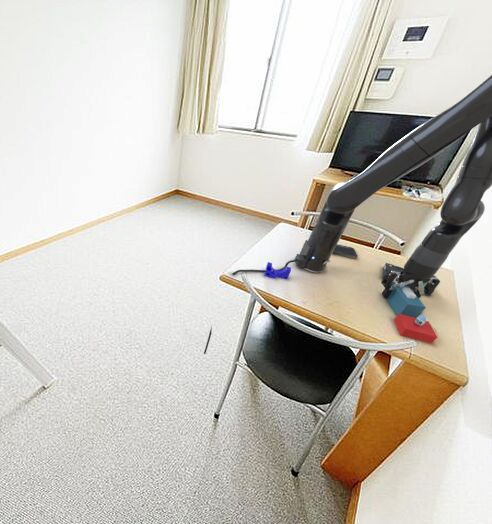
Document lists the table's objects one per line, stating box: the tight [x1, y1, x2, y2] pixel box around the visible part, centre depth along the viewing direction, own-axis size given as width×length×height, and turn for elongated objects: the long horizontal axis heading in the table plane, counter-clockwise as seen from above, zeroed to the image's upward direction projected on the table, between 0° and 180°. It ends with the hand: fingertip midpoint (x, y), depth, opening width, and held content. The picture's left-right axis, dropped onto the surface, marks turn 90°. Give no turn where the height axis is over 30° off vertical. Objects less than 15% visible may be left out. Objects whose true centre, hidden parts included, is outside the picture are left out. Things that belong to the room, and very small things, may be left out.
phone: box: [332, 243, 358, 260], centre depth 129 cm, size 8×1×15 cm
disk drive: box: [381, 262, 435, 296], centre depth 113 cm, size 10×3×15 cm
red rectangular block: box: [393, 314, 438, 344], centre depth 90 cm, size 8×7×6 cm
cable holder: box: [263, 261, 292, 280], centre depth 109 cm, size 8×4×4 cm, turn 70°
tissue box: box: [385, 284, 427, 318], centre depth 99 cm, size 5×11×7 cm, turn 169°
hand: (397, 299), depth 102 cm, fingers open, 8 cm apart
